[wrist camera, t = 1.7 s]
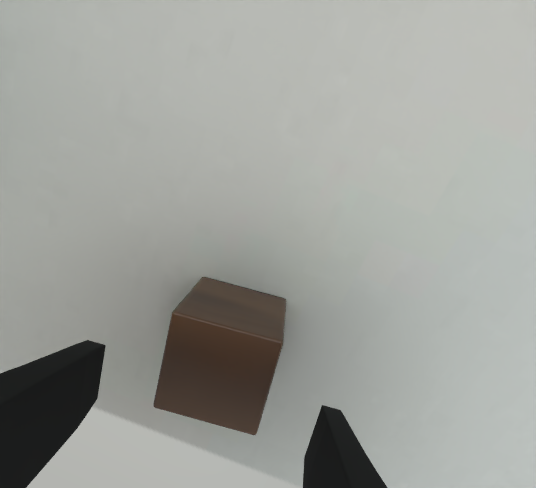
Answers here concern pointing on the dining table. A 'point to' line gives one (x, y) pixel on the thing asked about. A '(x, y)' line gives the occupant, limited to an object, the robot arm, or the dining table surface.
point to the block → (221, 355)
